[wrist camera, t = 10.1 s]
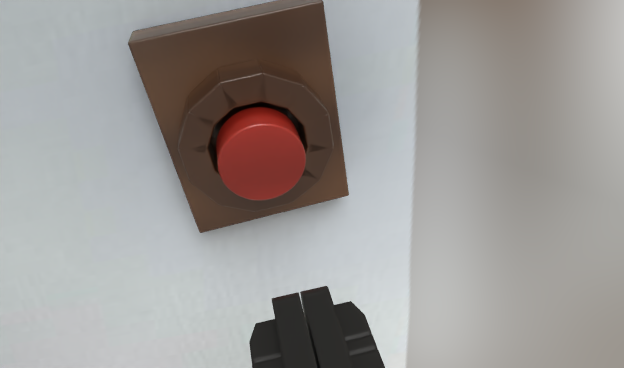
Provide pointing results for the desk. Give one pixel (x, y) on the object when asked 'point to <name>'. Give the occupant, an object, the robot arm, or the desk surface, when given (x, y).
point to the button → (259, 154)
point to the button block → (243, 99)
